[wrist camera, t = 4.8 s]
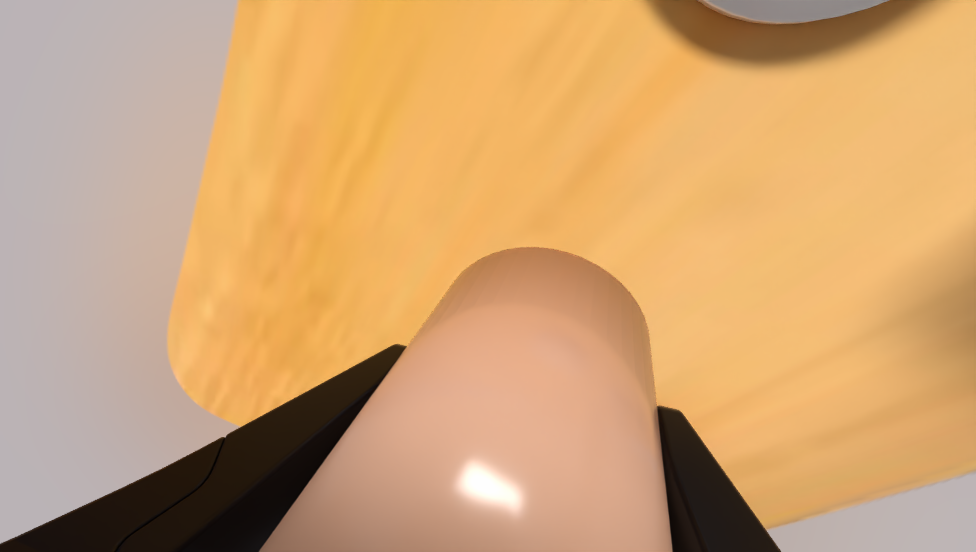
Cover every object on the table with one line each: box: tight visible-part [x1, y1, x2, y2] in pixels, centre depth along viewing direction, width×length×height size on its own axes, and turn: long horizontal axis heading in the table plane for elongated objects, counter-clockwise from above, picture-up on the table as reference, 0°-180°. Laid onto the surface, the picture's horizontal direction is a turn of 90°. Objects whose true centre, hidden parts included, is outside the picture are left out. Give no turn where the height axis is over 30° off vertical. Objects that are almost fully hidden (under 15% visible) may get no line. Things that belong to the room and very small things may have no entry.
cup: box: [259, 247, 673, 552], centre depth 6 cm, size 5×5×7 cm
